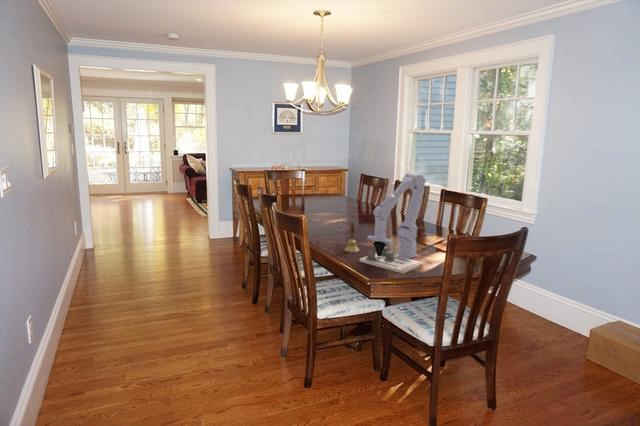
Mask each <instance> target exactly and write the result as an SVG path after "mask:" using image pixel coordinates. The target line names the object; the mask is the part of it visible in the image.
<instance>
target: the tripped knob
mask: <svg viewBox="0 0 640 426" xmlns="http://www.w3.org/2000/svg"><path fill="white" fill-rule="evenodd" d="M394 253H395V252H392V251H389V252H386V258H384V260H387V261H393V260H395V258H394V255H395V254H394Z"/></svg>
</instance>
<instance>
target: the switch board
mask: <svg viewBox="0 0 640 426" xmlns="http://www.w3.org/2000/svg"><path fill="white" fill-rule="evenodd" d="M375 257H376V260H372V261H370V260H367V259H366V258H367V256H363V257H360V258H359V262H360V263H363V264H367V265H371V266H374V267H378V268H382V269H384V270H388V271H391V272H396V273H399V274H402V275H403V274H405V273H408V272H411V271H415V270H416V269H419V268H421V267H423V266H424V262H421V261H417V260H413V259H411V258H410V259H406V258H402V257H399V256H395V254H394V258H395V260H393V261H387V260H384V258H386V256H383V255H382V256H377V253H376V252H375Z"/></svg>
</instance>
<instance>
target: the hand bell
mask: <svg viewBox="0 0 640 426" xmlns="http://www.w3.org/2000/svg"><path fill="white" fill-rule="evenodd" d="M355 228H356V227H355V222H354V221H352V222H350V225H349V232H350V239H349V240H348V241H347V245H346V247H345V248H344V251H345V252H347V253H358V252H360V249H359V248H358V246H357V241H356V240H355V239H354V236H355V235H354V233H355V231H356V230H355Z"/></svg>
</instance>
